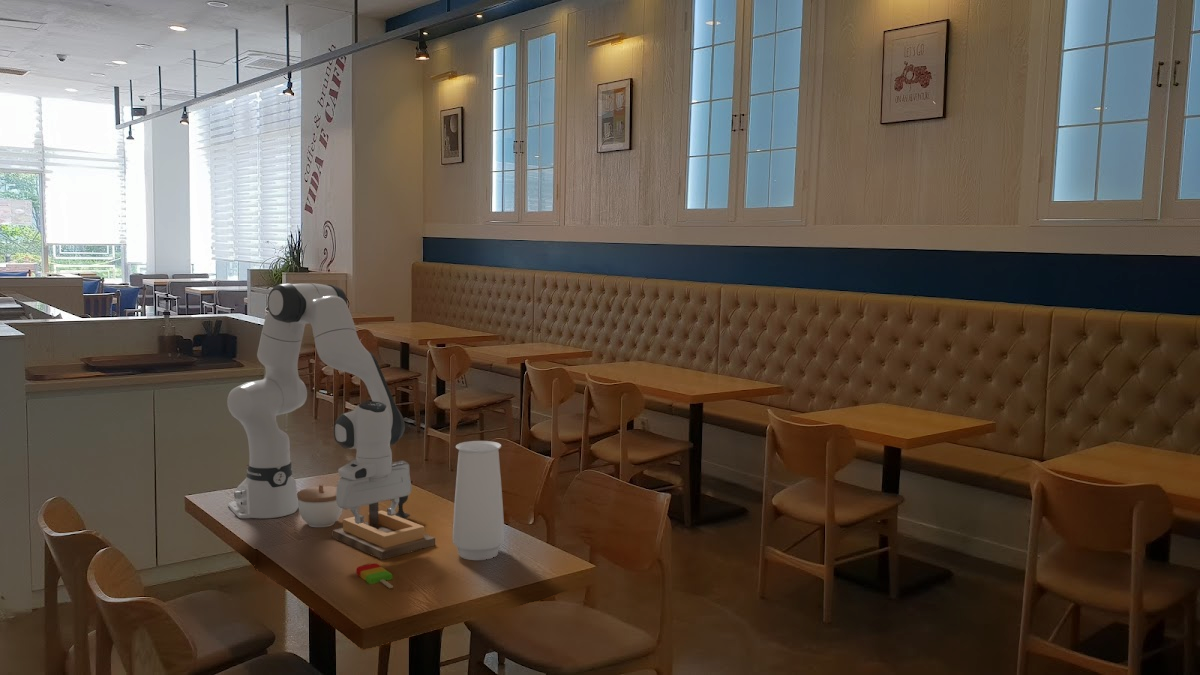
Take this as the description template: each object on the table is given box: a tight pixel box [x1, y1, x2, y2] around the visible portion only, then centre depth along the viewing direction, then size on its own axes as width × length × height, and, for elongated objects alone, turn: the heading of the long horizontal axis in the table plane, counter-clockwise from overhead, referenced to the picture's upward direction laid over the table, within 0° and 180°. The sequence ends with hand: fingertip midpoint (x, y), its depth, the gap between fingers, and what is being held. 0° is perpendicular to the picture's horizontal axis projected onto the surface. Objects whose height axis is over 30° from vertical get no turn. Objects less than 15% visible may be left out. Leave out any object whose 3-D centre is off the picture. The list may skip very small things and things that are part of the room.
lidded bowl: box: [297, 484, 344, 528], centre depth 257 cm, size 13×13×11 cm
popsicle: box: [356, 563, 394, 589], centre depth 215 cm, size 6×15×2 cm, turn 37°
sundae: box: [395, 480, 413, 519], centre depth 265 cm, size 7×7×15 cm
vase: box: [452, 440, 505, 561], centre depth 233 cm, size 13×13×28 cm
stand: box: [331, 502, 436, 560], centre depth 242 cm, size 24×16×15 cm, turn 46°
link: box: [342, 510, 425, 548], centre depth 242 cm, size 20×12×3 cm, turn 46°
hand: (375, 519), depth 236 cm, fingers open, 8 cm apart
